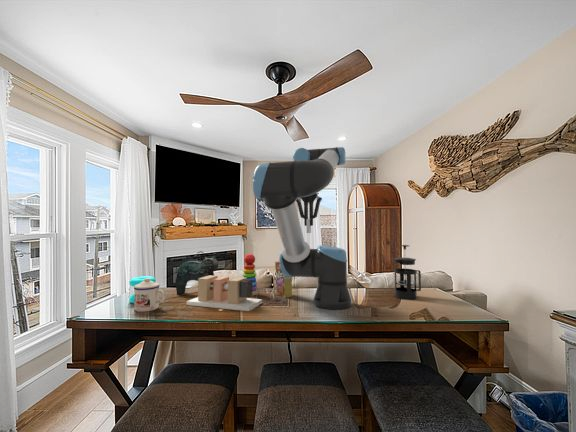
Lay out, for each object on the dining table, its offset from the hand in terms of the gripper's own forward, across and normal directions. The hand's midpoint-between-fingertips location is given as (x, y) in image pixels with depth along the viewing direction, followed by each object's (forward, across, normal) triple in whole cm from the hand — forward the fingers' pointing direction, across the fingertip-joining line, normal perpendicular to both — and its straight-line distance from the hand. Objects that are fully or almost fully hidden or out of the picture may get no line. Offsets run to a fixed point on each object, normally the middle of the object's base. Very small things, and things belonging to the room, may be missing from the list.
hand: (308, 232), depth 139 cm
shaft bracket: (+28, +28, +29) cm, 49 cm away
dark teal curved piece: (+29, +50, +18) cm, 60 cm away
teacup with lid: (+29, +52, +44) cm, 74 cm away
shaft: (+24, +27, +29) cm, 47 cm away
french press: (+29, -43, -6) cm, 52 cm away
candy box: (+29, +10, +8) cm, 31 cm away
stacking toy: (+29, +26, +11) cm, 40 cm away
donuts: (+29, +64, +36) cm, 79 cm away
